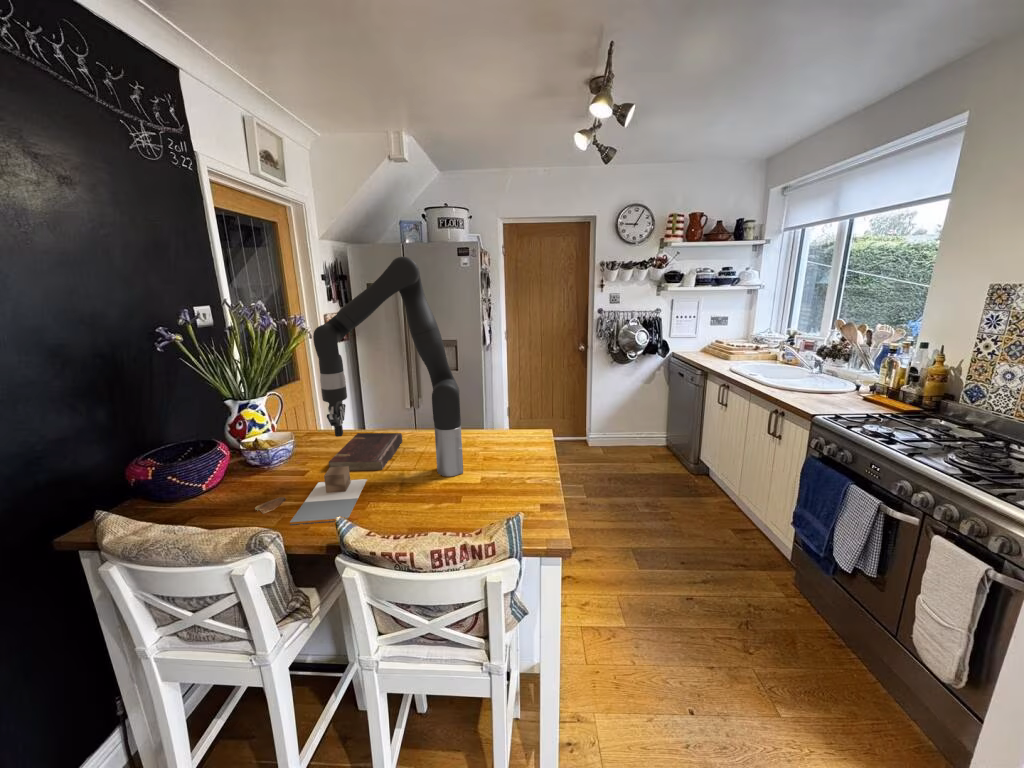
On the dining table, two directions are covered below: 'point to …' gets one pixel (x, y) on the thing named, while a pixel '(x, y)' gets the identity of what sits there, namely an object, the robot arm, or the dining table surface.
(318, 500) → the board
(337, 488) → the walnut cube
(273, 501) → the shard
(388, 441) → the hardback book
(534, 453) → the dining table surface
